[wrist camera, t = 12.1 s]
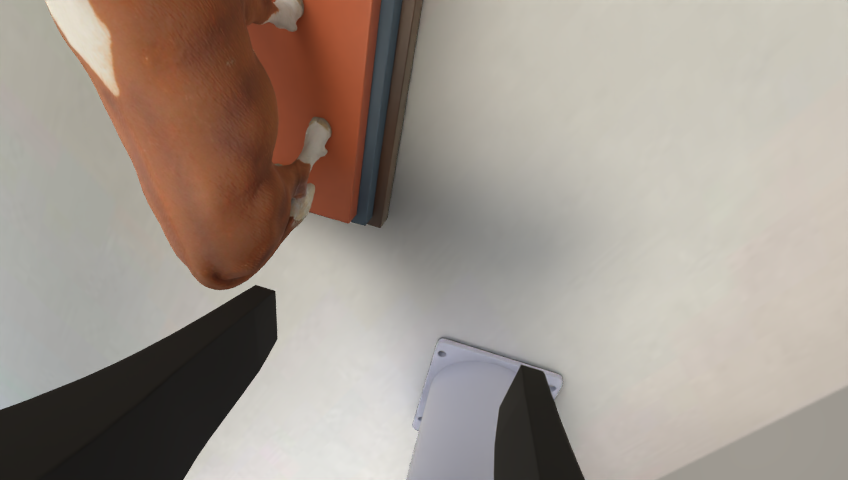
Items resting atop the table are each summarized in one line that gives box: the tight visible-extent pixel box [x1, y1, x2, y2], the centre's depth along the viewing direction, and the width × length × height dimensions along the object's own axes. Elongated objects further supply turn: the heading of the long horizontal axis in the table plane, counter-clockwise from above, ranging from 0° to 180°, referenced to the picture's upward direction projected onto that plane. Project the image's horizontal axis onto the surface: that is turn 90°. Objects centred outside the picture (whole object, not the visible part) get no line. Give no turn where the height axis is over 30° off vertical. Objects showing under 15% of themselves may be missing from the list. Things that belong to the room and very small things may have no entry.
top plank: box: [247, 0, 381, 223], centre depth 15 cm, size 14×7×1 cm, turn 169°
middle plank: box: [351, 0, 402, 226], centre depth 16 cm, size 15×8×1 cm, turn 169°
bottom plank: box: [367, 0, 423, 228], centre depth 17 cm, size 16×9×1 cm, turn 169°
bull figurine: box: [45, 0, 332, 290], centre depth 12 cm, size 4×13×8 cm, turn 179°
